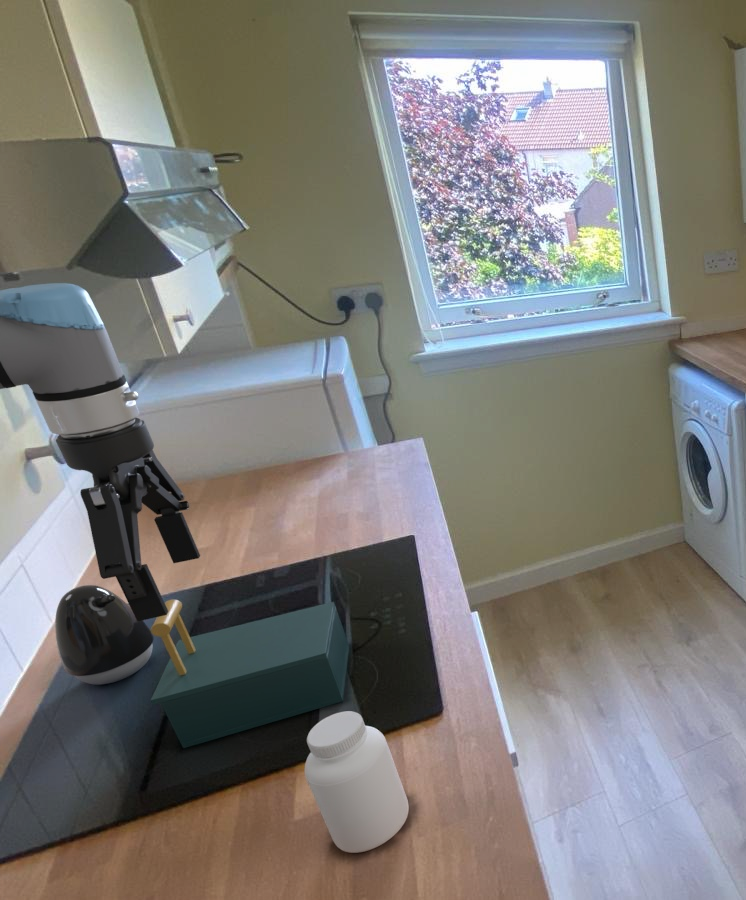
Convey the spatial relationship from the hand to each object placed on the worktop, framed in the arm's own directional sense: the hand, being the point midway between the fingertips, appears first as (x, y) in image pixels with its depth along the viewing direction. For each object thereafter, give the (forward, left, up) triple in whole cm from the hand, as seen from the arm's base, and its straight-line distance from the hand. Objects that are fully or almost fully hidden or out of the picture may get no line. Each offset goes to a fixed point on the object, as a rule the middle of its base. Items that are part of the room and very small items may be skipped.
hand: (171, 586), depth 90 cm
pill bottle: (+17, -25, -24) cm, 39 cm away
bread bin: (+3, +7, -24) cm, 25 cm away
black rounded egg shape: (-19, +24, -24) cm, 38 cm away
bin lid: (+3, +7, -16) cm, 17 cm away
